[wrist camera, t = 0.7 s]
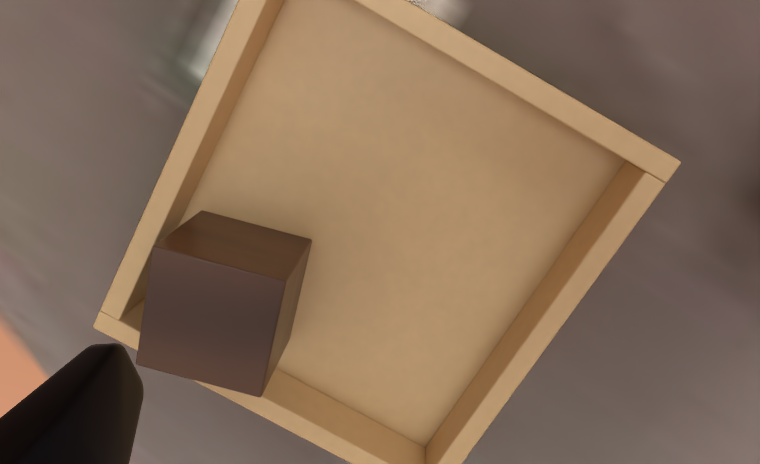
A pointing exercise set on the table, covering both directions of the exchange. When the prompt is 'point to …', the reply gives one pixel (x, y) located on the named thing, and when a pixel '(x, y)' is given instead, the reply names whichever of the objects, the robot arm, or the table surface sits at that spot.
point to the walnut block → (222, 301)
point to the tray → (396, 216)
